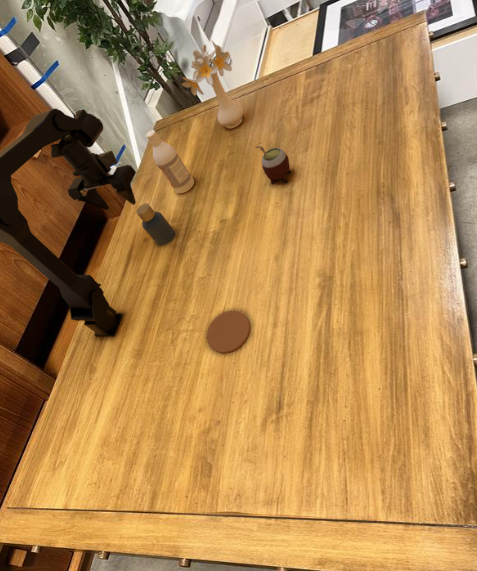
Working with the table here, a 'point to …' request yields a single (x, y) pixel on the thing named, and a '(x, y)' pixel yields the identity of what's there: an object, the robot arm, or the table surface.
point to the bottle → (159, 229)
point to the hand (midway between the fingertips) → (121, 206)
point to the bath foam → (170, 164)
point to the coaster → (228, 331)
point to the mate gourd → (275, 164)
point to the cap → (145, 212)
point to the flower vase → (215, 83)
